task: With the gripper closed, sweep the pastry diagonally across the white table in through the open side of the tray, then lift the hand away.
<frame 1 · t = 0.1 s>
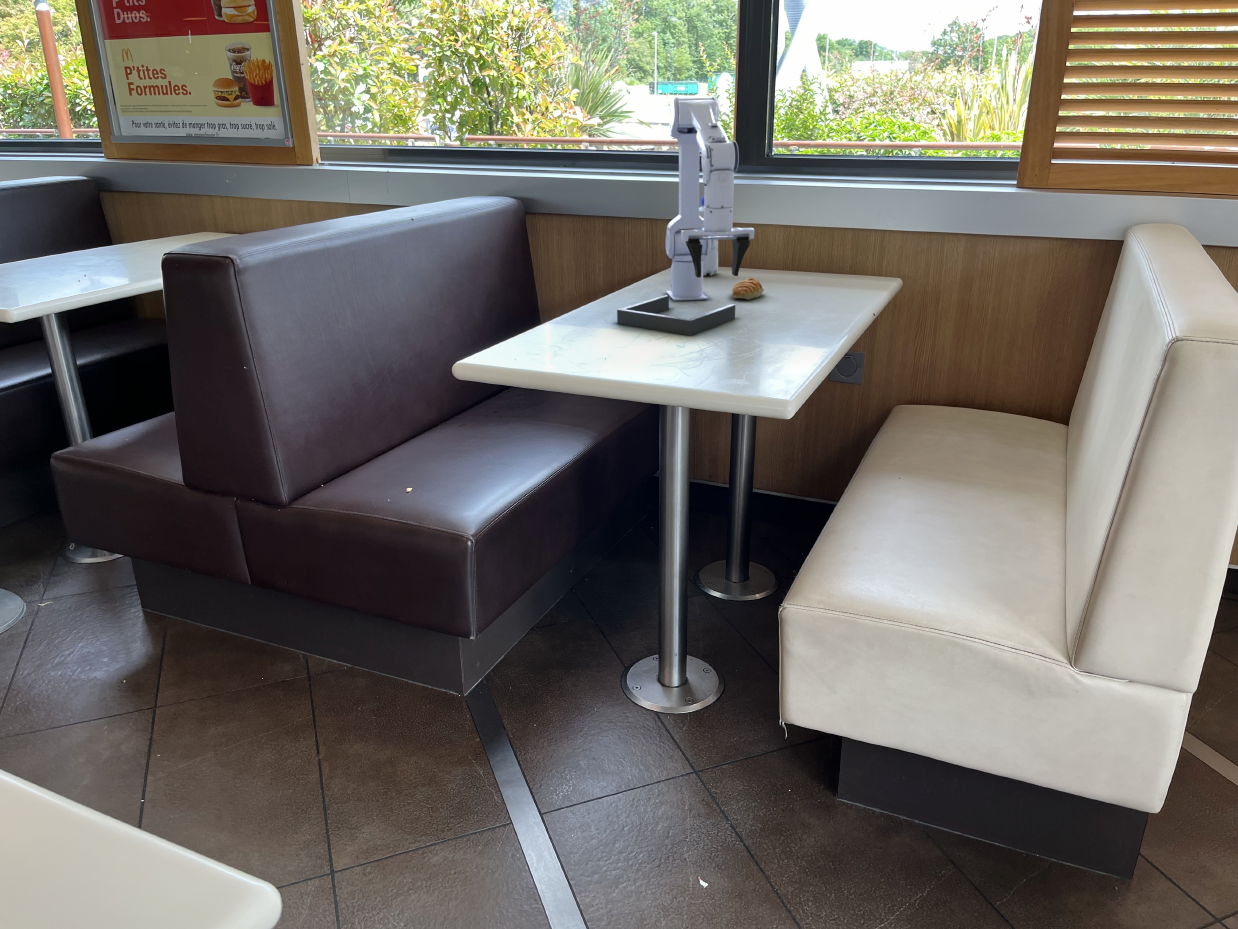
hand: (716, 275, 181), 10 cm above the table, tool pointing down, fingers open, 7 cm apart
pastry: (747, 297, 210), on the table
bottle: (706, 274, 238), on the table
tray: (677, 320, 189), on the table
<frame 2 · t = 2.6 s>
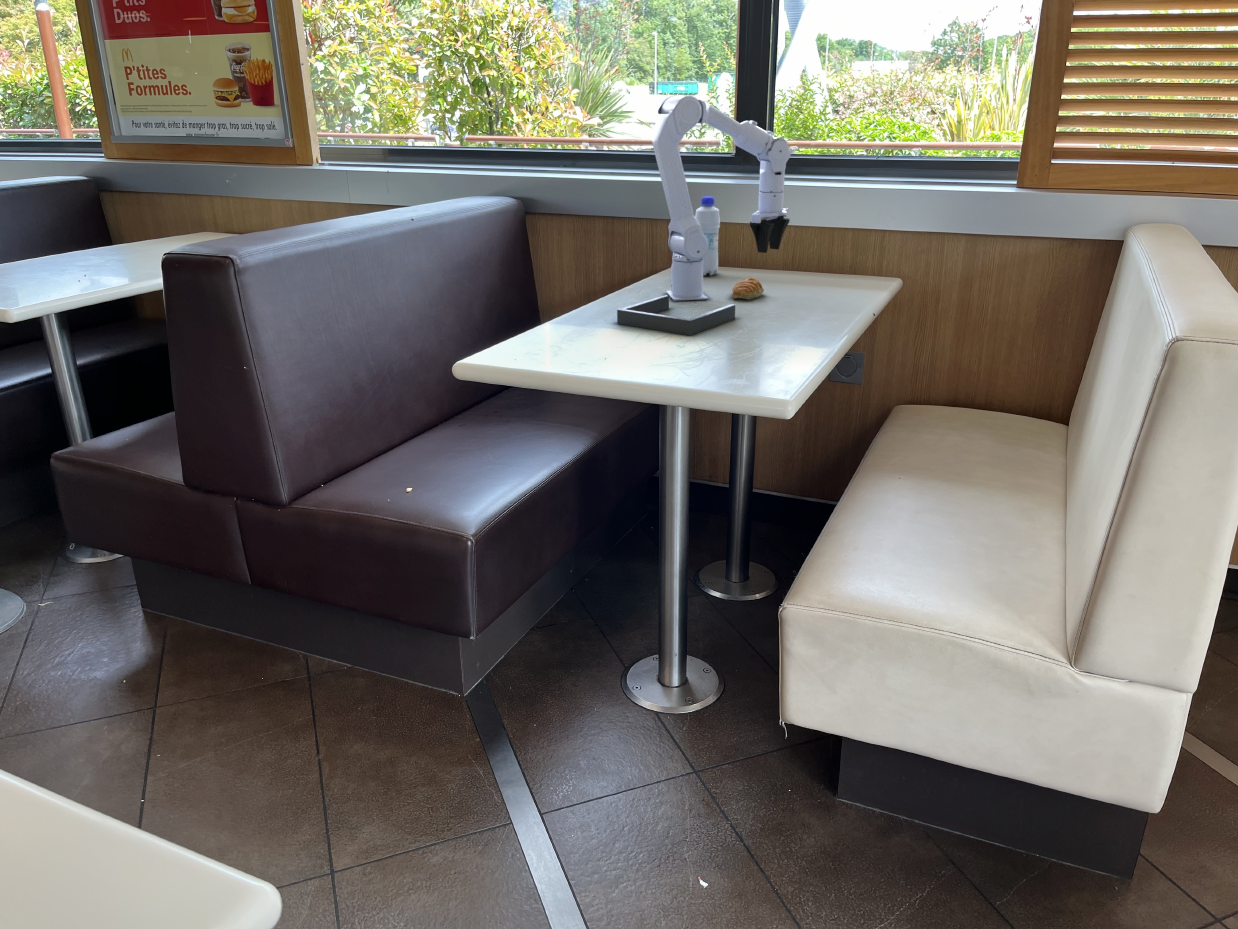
hand: (768, 250, 214), 9 cm above the table, tool pointing down, fingers open, 5 cm apart
nothing on the table moved.
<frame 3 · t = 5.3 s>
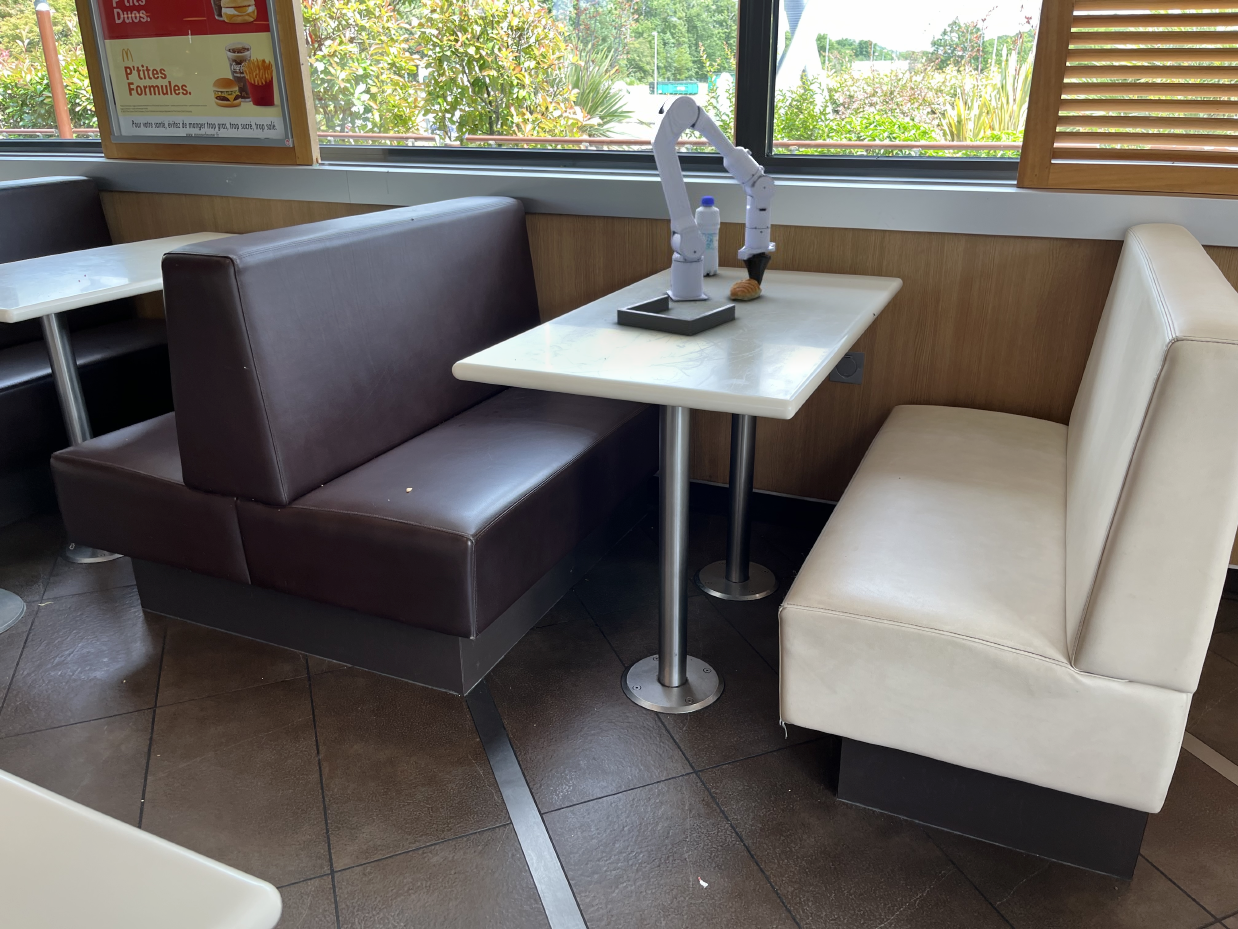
hand: (755, 285, 212), 2 cm above the table, tool pointing down, fingers closed
pastry: (745, 298, 210), on the table, touching gripper
everything else where it was.
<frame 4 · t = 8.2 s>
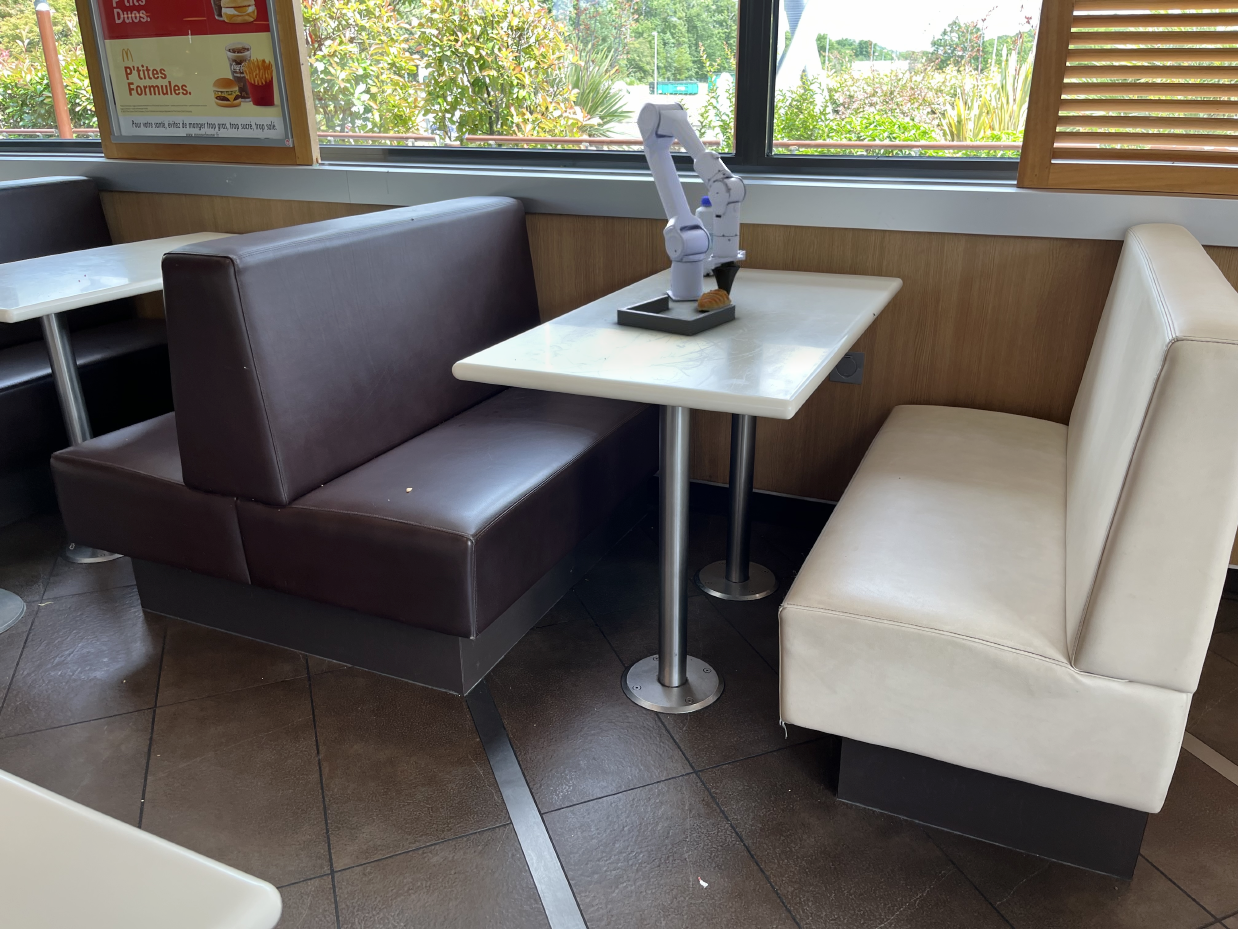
hand: (724, 296, 202), 2 cm above the table, tool pointing down, fingers closed
pastry: (713, 309, 199), on the table, touching gripper
everything else where it was.
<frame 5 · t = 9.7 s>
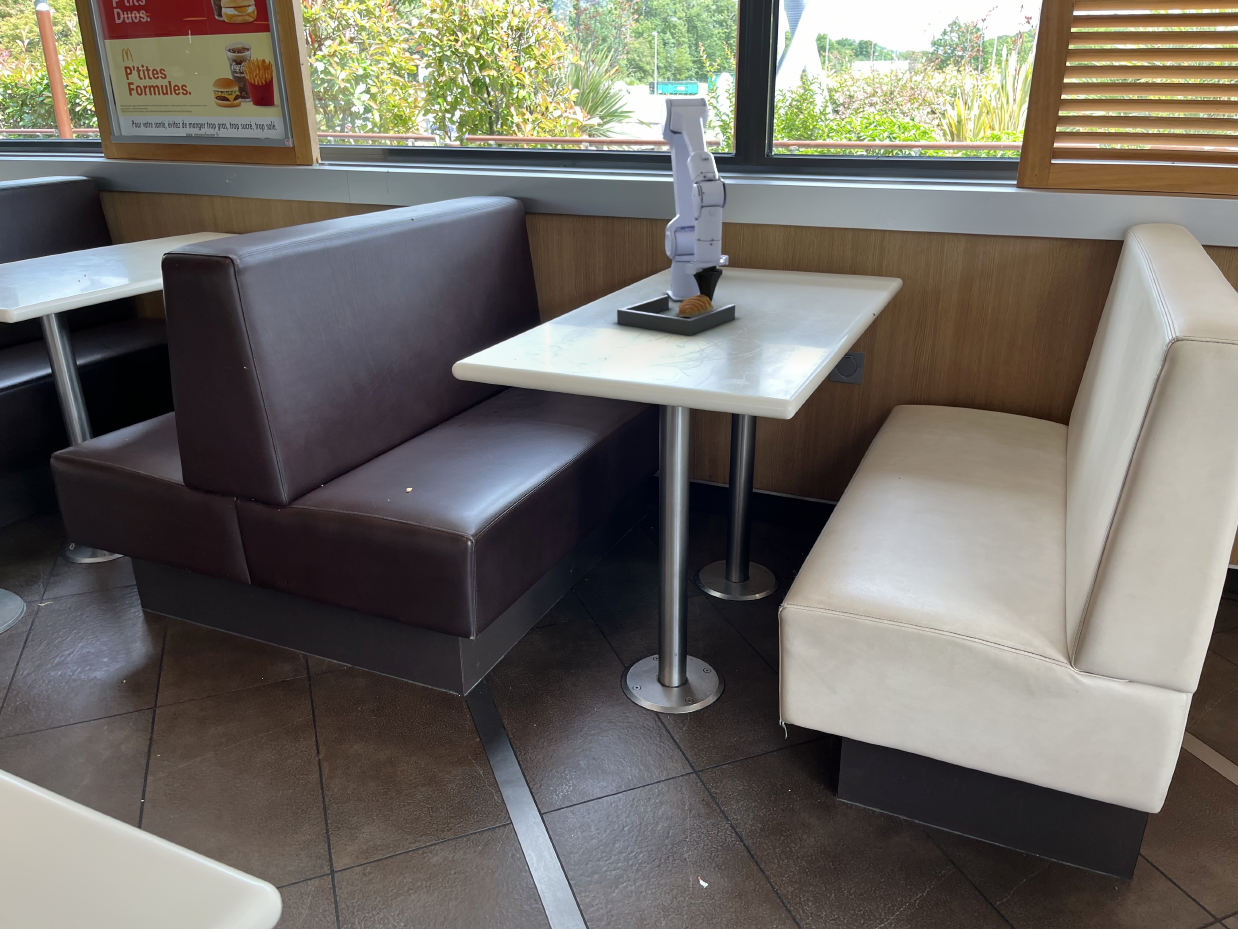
hand: (706, 302, 196), 2 cm above the table, tool pointing down, fingers closed
pastry: (695, 315, 194), resting in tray, touching gripper
everything else where it was.
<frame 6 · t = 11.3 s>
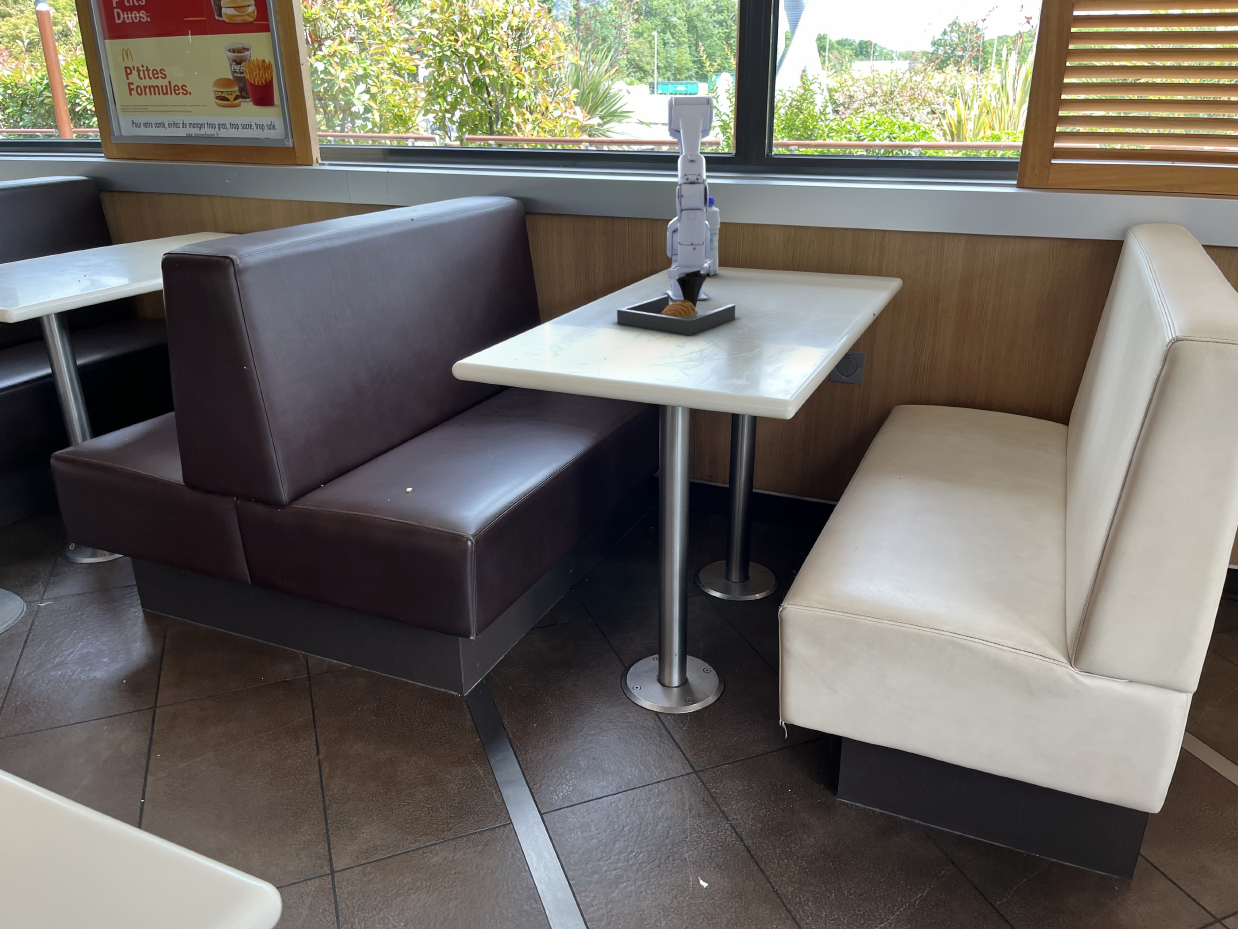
hand: (690, 307, 192), 2 cm above the table, tool pointing down, fingers closed
pastry: (678, 321, 189), resting in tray, touching gripper
everything else where it was.
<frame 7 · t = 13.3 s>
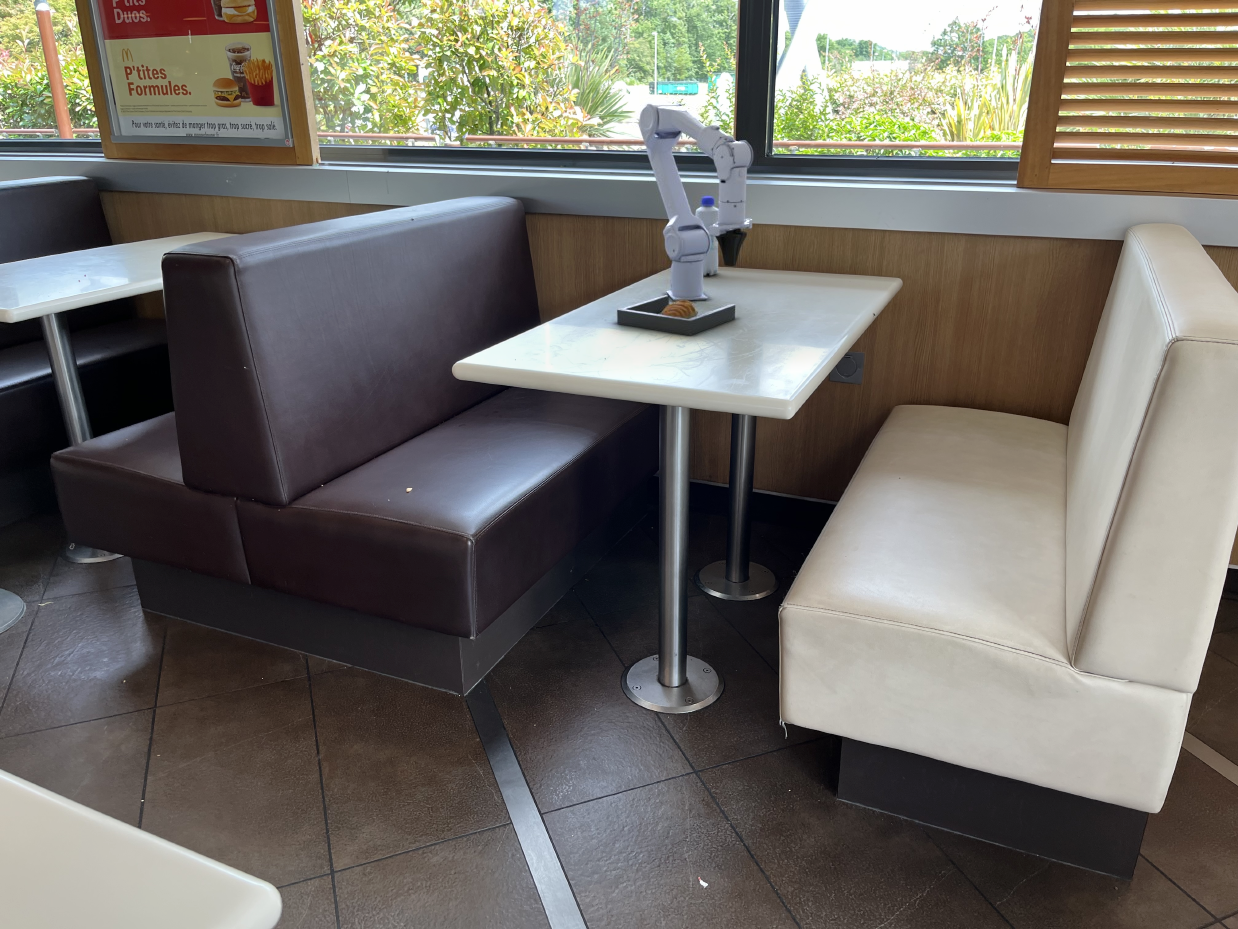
hand: (730, 265, 196), 9 cm above the table, tool pointing down, fingers closed
pastry: (678, 321, 189), resting in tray
everything else where it was.
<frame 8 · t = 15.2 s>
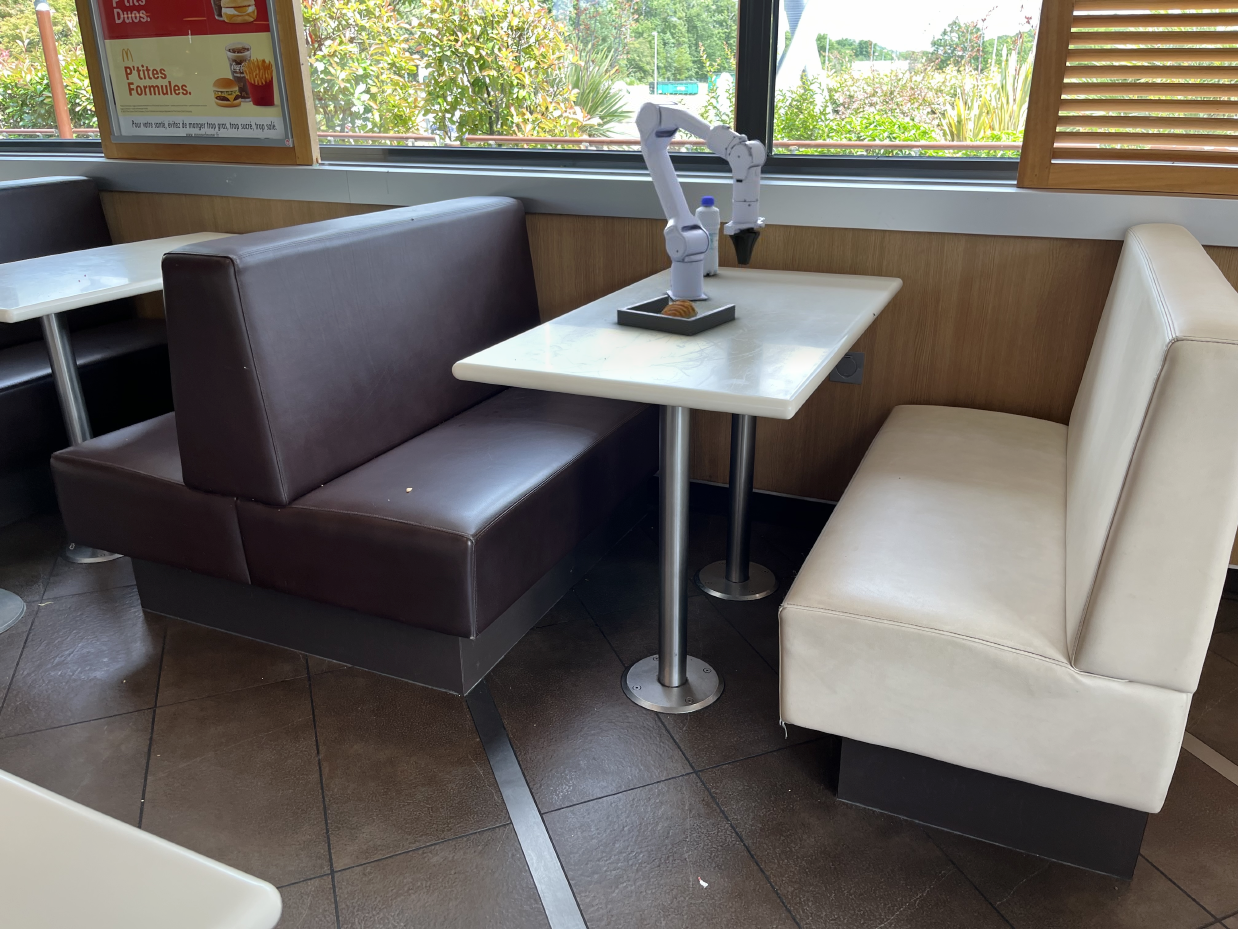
hand: (743, 264, 197), 9 cm above the table, tool pointing down, fingers closed
nothing on the table moved.
at the end: pastry inside the target area on the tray (0.4 cm from its centre), point 0.0 cm above the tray's base; pastry moved 29.3 cm from its start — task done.
